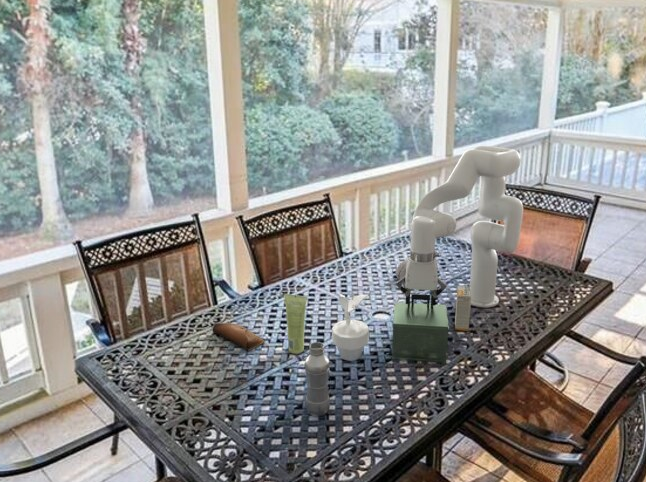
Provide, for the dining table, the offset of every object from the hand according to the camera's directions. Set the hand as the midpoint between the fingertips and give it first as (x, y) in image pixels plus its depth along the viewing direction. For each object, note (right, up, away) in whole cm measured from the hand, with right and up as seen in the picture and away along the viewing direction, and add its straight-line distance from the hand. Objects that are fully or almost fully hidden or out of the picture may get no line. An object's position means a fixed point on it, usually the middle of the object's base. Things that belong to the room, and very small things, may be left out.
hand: (420, 306), depth 173 cm
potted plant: (-22, -15, -4) cm, 27 cm away
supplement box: (+17, -9, +14) cm, 24 cm away
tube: (-40, -14, -1) cm, 42 cm away
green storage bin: (-1, -14, -1) cm, 14 cm away
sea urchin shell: (+3, +2, +52) cm, 52 cm away
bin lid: (-1, -2, -4) cm, 5 cm away
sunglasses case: (-60, -12, +6) cm, 62 cm away
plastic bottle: (-32, -23, -30) cm, 49 cm away
